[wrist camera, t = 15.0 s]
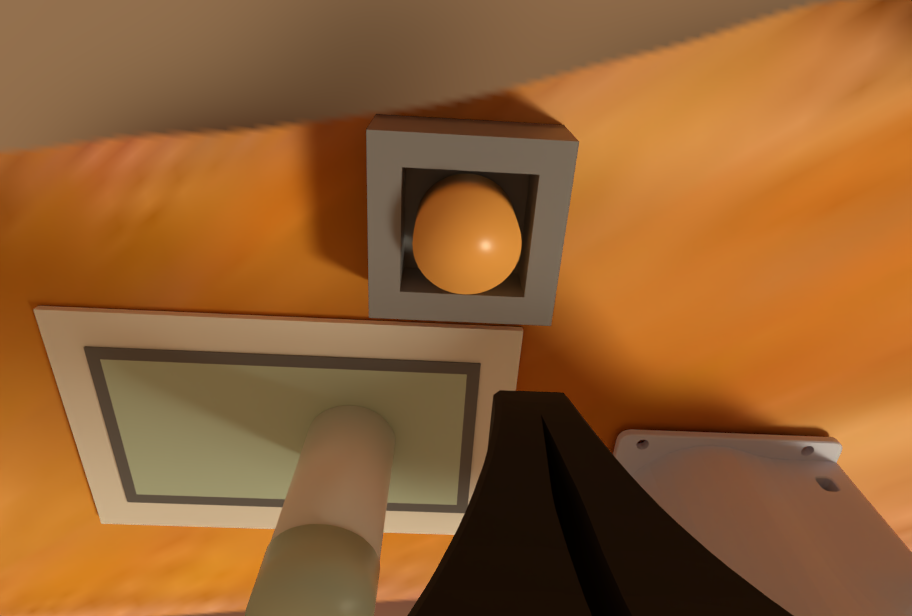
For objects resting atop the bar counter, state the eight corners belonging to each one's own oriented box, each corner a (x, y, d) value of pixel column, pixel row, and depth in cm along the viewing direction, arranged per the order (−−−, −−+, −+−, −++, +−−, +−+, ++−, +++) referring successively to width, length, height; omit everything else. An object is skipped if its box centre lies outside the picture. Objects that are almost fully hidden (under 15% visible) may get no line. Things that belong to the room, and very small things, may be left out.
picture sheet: (522, 327, 22) (523, 332, 22) (496, 531, 27) (497, 537, 27) (38, 305, 21) (31, 310, 21) (104, 518, 27) (100, 525, 26)
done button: (519, 176, 18) (527, 195, 16) (509, 270, 20) (515, 296, 18) (416, 170, 18) (413, 189, 16) (414, 265, 20) (411, 291, 18)
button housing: (563, 124, 19) (579, 141, 16) (540, 292, 21) (550, 325, 19) (375, 114, 18) (366, 129, 16) (377, 284, 21) (369, 317, 19)
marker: (397, 406, 23) (372, 584, 16) (395, 475, 25) (372, 663, 18) (304, 401, 23) (238, 578, 16) (308, 471, 25) (251, 658, 18)
